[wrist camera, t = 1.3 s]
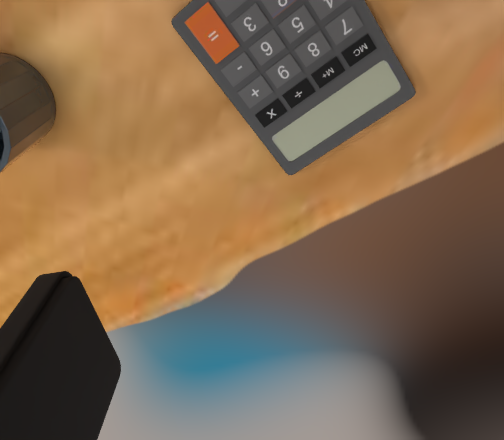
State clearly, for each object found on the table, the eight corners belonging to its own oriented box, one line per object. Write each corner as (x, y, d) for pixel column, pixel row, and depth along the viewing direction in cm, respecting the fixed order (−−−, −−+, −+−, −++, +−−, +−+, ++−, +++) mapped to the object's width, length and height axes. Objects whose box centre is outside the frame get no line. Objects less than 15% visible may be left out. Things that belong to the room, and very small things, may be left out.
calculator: (307, -101, 28) (418, 94, 34) (306, -100, 29) (414, 91, 35) (168, 21, 32) (289, 178, 38) (170, 20, 33) (289, 173, 38)
